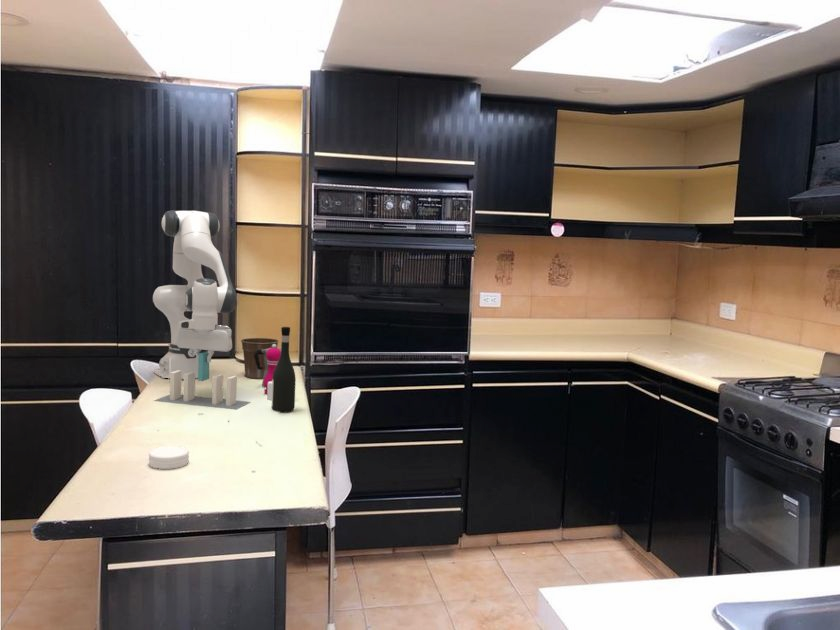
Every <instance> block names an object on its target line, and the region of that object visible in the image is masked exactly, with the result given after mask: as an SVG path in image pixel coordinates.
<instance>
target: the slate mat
mask: <svg viewBox="0 0 840 630" xmlns="http://www.w3.org/2000/svg"><path fill="white" fill-rule="evenodd" d="M183 395H184V394H181V397H180V398H178V399H175V400H170V394H167V395H165V396H162V397H160V398H158V399H157V398H156V399H155V400H154V399H153V402H161V403H168V404H169V403H171V404H179V405H189V406H197V407H206V408H208V407H209V408H216V409H217V408H218V409H225V410H226V409H228V410H235V411H236V410H239V409H241V408H242V407H243V408H244V407H245V406H246V405H248V404H250V403H251V401H244V400H237V399H236V403H235V404H233V405H231V406H226V398H223V402H221V403H218V404H216V405H215V404H212V397H206V396H196V395H195V399H193V400H190V401H188V402H186V401H183Z"/></svg>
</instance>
